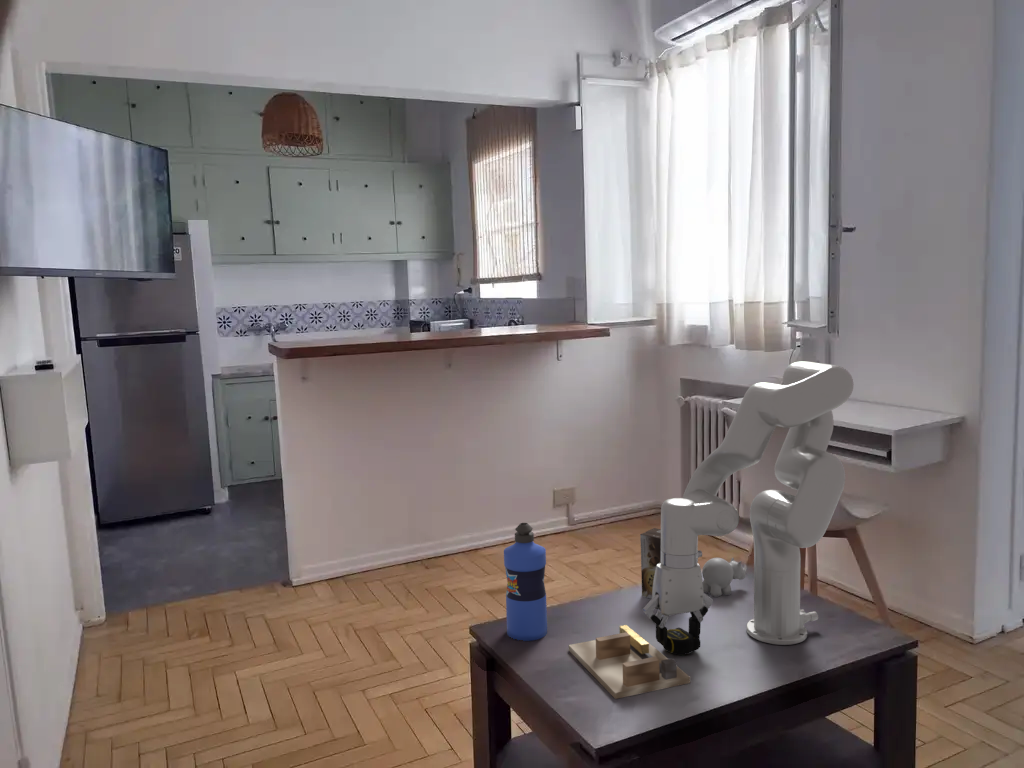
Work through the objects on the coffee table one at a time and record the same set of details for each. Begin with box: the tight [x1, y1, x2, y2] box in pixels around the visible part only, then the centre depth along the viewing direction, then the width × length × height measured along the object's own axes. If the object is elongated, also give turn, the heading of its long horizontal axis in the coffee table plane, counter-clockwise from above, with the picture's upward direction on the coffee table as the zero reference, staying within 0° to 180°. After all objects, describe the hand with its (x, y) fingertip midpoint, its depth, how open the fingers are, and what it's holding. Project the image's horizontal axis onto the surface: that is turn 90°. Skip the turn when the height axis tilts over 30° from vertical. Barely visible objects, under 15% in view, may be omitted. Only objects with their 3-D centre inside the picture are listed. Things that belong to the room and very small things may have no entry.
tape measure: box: [662, 627, 701, 656], centre depth 167 cm, size 7×7×4 cm
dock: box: [568, 631, 691, 700], centre depth 162 cm, size 16×22×5 cm
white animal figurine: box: [701, 557, 747, 597], centre depth 199 cm, size 8×12×9 cm, turn 111°
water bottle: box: [503, 522, 548, 642], centre depth 178 cm, size 9×9×25 cm
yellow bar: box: [619, 624, 649, 654], centre depth 168 cm, size 2×10×2 cm, turn 19°
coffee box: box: [639, 527, 661, 600], centre depth 196 cm, size 9×6×16 cm
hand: (678, 640), depth 168 cm, fingers closed on tape measure, 7 cm apart
